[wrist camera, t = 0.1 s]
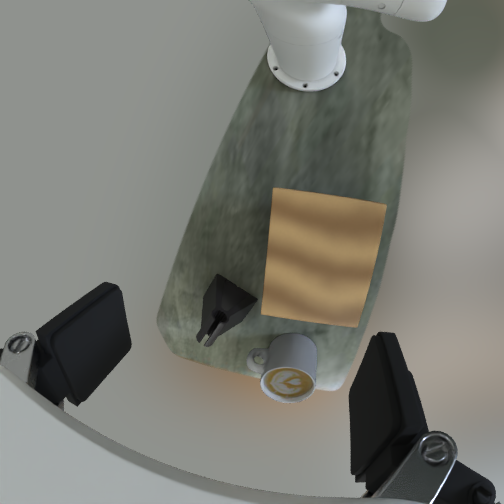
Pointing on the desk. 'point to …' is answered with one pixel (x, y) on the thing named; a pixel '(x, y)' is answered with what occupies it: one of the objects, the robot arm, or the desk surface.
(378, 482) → the robot arm
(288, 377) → the coffee mug
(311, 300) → the oak board
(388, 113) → the desk surface
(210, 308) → the phone stand
